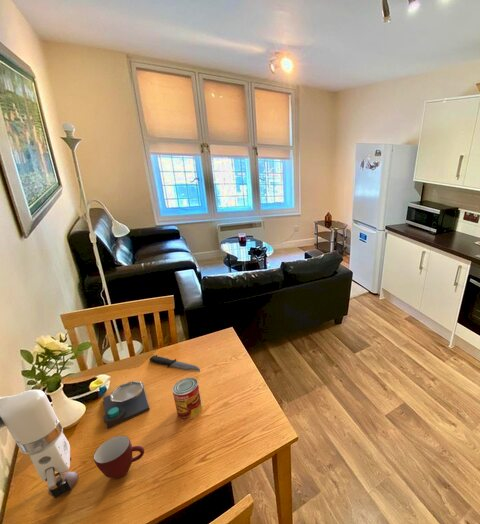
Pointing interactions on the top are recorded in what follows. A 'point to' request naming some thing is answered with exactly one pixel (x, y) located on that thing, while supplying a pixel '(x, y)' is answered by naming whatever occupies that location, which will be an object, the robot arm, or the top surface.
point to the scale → (125, 409)
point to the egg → (71, 478)
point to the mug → (116, 456)
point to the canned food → (187, 398)
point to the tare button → (113, 412)
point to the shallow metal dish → (126, 392)
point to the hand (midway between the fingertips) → (63, 477)
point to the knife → (172, 363)
